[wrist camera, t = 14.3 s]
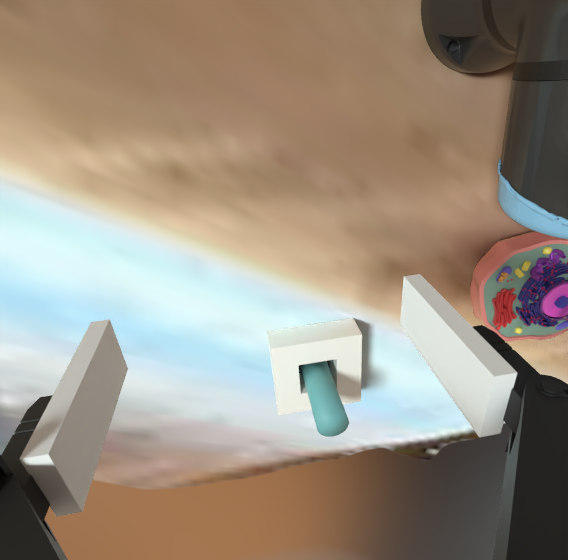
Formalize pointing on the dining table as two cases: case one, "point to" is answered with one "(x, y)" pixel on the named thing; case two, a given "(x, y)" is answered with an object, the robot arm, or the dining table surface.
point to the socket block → (315, 348)
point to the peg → (324, 399)
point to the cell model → (523, 287)
